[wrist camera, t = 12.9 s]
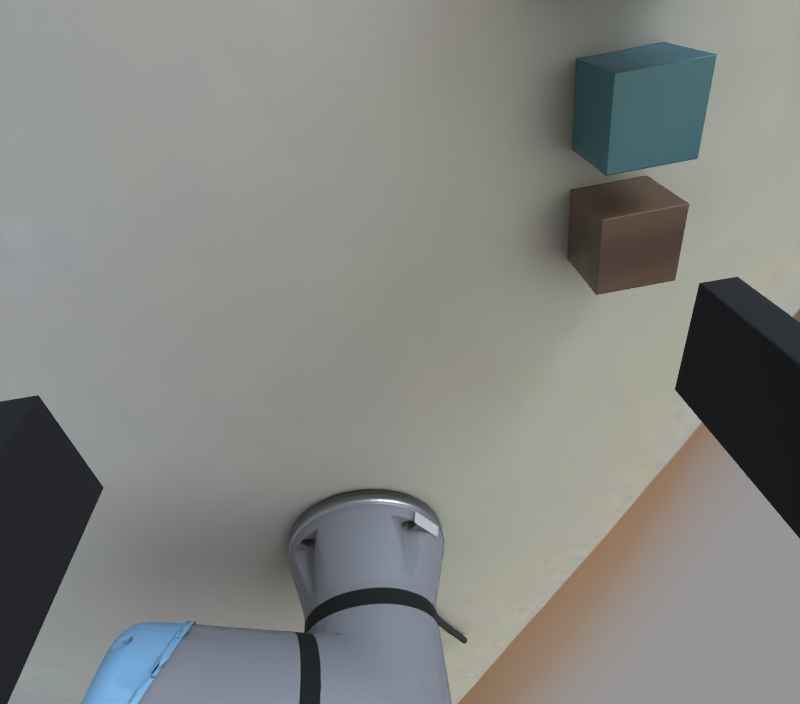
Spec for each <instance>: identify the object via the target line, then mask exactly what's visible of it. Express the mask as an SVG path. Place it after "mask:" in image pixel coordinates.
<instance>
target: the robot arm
mask: <svg viewBox="0 0 800 704" xmlns="http://www.w3.org/2000/svg"><path fill="white" fill-rule="evenodd" d="M675 390H676V391H677V392H678V394H679V395H680V396H681V397H682V398H683V400H684V401H685V402H686V403H687V404H688V406H689V407H690V408H691V409H692V410H693V412H694V413H695V414H696V415H697V416H698V418H699V419H700V420H701V421H702V422H703V423H704V425H705V426H706V427H707V428H708V429H709V431H710V432H711V433H712V434H713V435H714V437H715V438H716V439H717V440H718V441H719V443H720V444H721V445H722V446H723V447H724V448H725V450H726V451H727V452H728V453H729V455H730V456H731V457H732V458H733V459H734V460H735V461H736V463H737V464H738V465H739V466H740V468H741V469H742V470H743V471H744V472H745V473H746V475H747V476H748V477H749V478H750V479H751V481H752V482H753V483H754V484H755V485H756V487H757V488H758V489H759V490H760V491H761V493H762V494H763V495H764V496H765V497H766V499H767V500H768V501H769V502H770V503H771V505H772V506H773V507H774V508H775V509H776V511H777V512H778V513H779V514H780V515H781V517H782V518H783V519H784V520H785V521H786V523H787V524H788V525H789V526H790V527H791V528H792V530H793V531H794V532H795V533H796V535H797V536H798V537H799V538H800V323H799V322H798V321H796V320H795V319H794V318H793V317H791V316H790V315H789V314H787V313H786V312H785V311H783V310H782V309H781V308H779V307H778V306H776V305H775V304H774V303H772V302H771V301H770V300H768V299H767V298H766V297H764V296H763V295H761V294H760V293H759V292H757V291H756V290H755V289H753V288H752V287H751V286H749V285H748V284H746V283H745V282H744V281H742V280H741V279H740V278H738V277H734V278H728V279H722V280H716V281H710V282H704V283H699V288H698V292H697V296H696V301H695V305H694V309H693V314H692V318H691V322H690V327H689V331H688V335H687V340H686V344H685V348H684V353H683V357H682V361H681V366H680V370H679V374H678V379H677V383H676V387H675ZM102 490H103V486H102V485H101V484H100V482H99V481H98V479H97V478H96V477H95V475H94V474H93V472H92V471H91V469H90V468H89V467H88V465H87V464H86V462H85V461H84V459H83V458H82V457H81V455H80V454H79V452H78V451H77V450H76V448H75V447H74V445H73V444H72V442H71V441H70V440H69V438H68V437H67V435H66V434H65V432H64V431H63V430H62V428H61V427H60V425H59V424H58V423H57V421H56V420H55V418H54V417H53V415H52V414H51V413H50V411H49V410H48V408H47V407H46V405H45V404H44V403H43V401H42V400H41V398H40V397H39V395H38V396H32V397H26V398H20V399H14V400H8V401H2V402H0V704H7V703H8V701H9V699H10V696H11V694H12V692H13V690H14V687H15V685H16V683H17V681H18V678H19V676H20V674H21V672H22V669H23V667H24V665H25V663H26V660H27V658H28V656H29V654H30V651H31V649H32V647H33V645H34V642H35V640H36V638H37V636H38V633H39V631H40V629H41V627H42V624H43V622H44V620H45V618H46V615H47V613H48V611H49V609H50V606H51V604H52V602H53V600H54V597H55V595H56V593H57V591H58V588H59V586H60V584H61V582H62V579H63V577H64V575H65V573H66V570H67V568H68V566H69V564H70V561H71V559H72V557H73V555H74V553H75V550H76V548H77V546H78V544H79V541H80V539H81V537H82V535H83V532H84V530H85V528H86V526H87V523H88V521H89V519H90V517H91V514H92V512H93V510H94V508H95V505H96V503H97V501H98V499H99V496H100V494H101V492H102ZM443 554H444V539H443V533H442V528H441V524H440V521H439V519H438V517H437V515H436V514H435V512H434V511H433V510H432V509H431V508H430V507H429V506H427V505H426V504H425V503H423V502H421V501H420V500H418V499H416V498H413V497H411V496H408V495H405V494H401V493H397V492H392V491H383V490H365V491H356V492H350V493H345V494H341V495H338V496H335V497H332V498H329V499H327V500H324V501H322V502H320V503H318V504H317V505H315V506H313V507H312V508H310V509H309V510H308V511H306V512H305V513H304V514H303V515H302V516H301V517H300V518H299V519H298V520H297V522H296V523H295V525H294V526H293V529H292V531H291V534H290V540H289V553H288V555H289V562H290V568H291V571H292V575H293V578H294V582H295V585H296V589H297V592H298V596H299V599H300V603H301V606H302V610H303V613H304V617H305V632H304V633H300V632H291V631H275V630H259V629H245V628H233V627H222V626H210V625H198V624H195V623H196V621H188V622H186V623H150V622H147V623H140V624H136V625H134V626H132V627H130V628H128V629H127V630H125V631H124V632H123V633H122V634H121V635H120V636H119V637H118V638H117V639H116V640H115V642H114V643H113V644H112V646H111V647H110V649H109V650H108V652H107V654H106V655H105V657H104V659H103V661H102V663H101V665H100V667H99V669H98V670H97V672H96V674H95V676H94V678H93V680H92V682H91V684H90V687H89V689H88V691H87V693H86V695H85V697H84V699H83V701H82V703H81V704H452V702H451V696H450V690H449V684H448V678H447V672H446V666H445V660H444V654H443V648H442V642H441V636H440V630H439V625H440V626H441V627H442V628H443V629H444V630H446V631H447V632H448V633H450V634H451V635H453V636H454V637H455V638H457V639H458V640H460V641H461V642H462V643H464V644H465V643H466V642H467V638H466V637H464V636H463V635H462V634H460V633H459V632H457V631H456V630H455V629H453V628H452V627H451V626H449V625H448V624H447V623H446V622H445V621H443V620H442V619H441V618H440V617H439V616H438V615H437V612H436V599H437V592H438V586H439V579H440V573H441V566H442V560H443ZM438 624H439V625H438Z"/></svg>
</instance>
